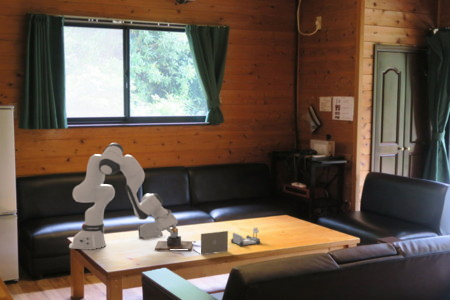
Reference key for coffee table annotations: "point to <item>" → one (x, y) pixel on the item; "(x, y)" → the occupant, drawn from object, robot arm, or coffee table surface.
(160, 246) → the keeper
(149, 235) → the grey rounded block
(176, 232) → the toggle bar
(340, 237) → the coffee table surface
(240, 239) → the toy car
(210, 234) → the laptop
